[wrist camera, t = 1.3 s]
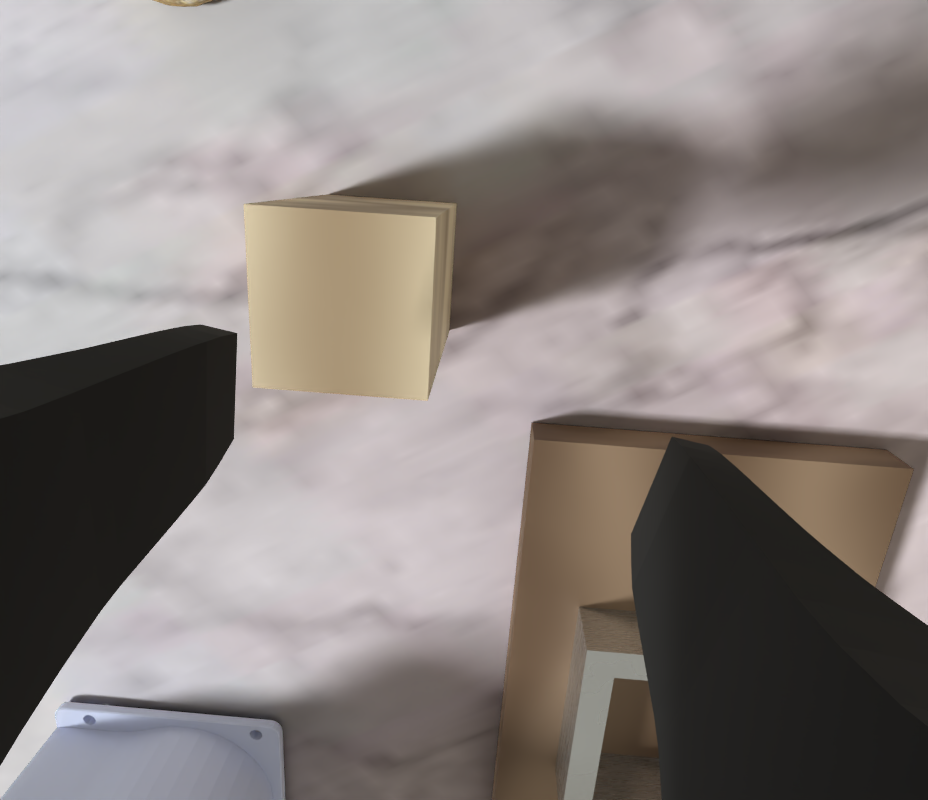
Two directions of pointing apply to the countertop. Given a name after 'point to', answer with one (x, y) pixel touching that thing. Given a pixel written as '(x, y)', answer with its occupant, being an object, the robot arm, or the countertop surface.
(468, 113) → the countertop surface
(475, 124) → the countertop surface
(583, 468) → the board
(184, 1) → the sprinkles bottle
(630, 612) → the square socket
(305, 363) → the maple peg
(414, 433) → the countertop surface
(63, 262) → the countertop surface
